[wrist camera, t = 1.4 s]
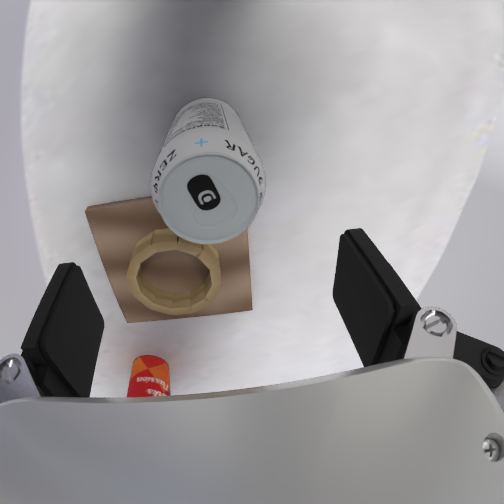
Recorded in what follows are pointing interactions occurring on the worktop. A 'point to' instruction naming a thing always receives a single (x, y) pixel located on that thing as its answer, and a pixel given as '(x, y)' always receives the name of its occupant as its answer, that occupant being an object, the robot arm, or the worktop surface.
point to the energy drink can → (207, 174)
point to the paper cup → (149, 377)
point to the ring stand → (167, 265)
